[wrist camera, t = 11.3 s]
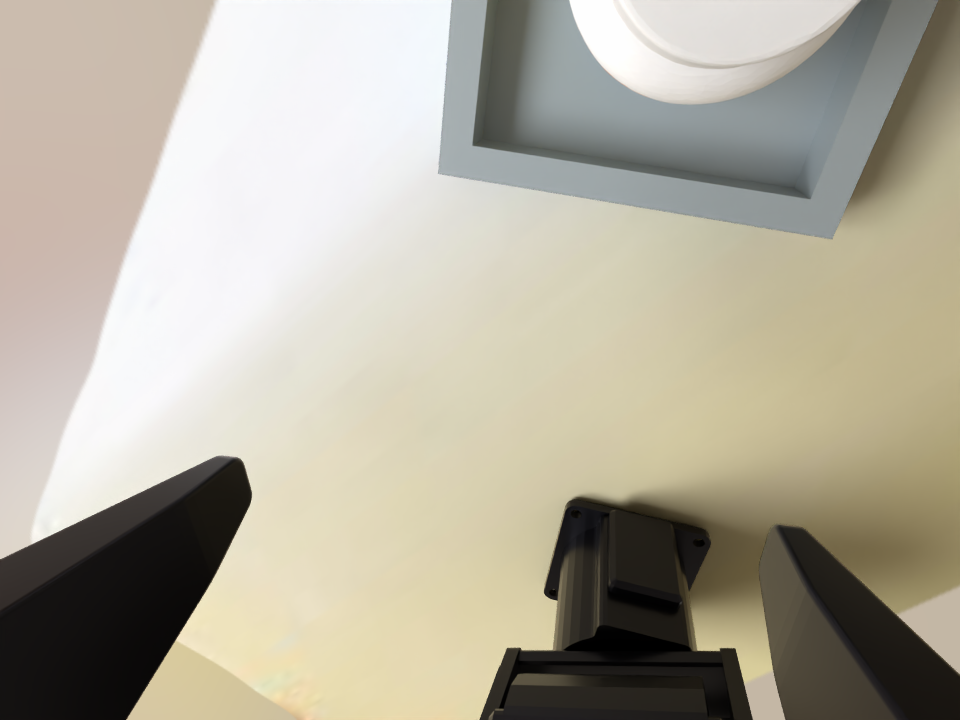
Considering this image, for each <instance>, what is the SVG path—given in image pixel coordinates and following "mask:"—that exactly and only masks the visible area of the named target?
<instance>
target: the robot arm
mask: <svg viewBox="0 0 960 720" xmlns="http://www.w3.org/2000/svg"><path fill="white" fill-rule="evenodd" d="M251 499H252V491H251V487H250V483H249V480H248V476H247V473H246V469H245V466H244V463H243V461H242V460H241V459H240V458H237V457H230V456H216V457H214V458H212V459H210V460H208V461H205V462H203V463H201V464H199V465H197V466H195V467H193V468H191V469H189V470H187V471H184V472H182V473H180V474H178V475H176V476H174V477H172V478H170V479H168V480H166V481H164V482H161V483H159V484H157V485H155V486H153V487H151V488H149V489H147V490H145V491H143V492H141V493H138V494H136V495H134V496H132V497H130V498H128V499H126V500H124V501H122V502H120V503H118V504H115V505H113V506H111V507H109V508H107V509H105V510H103V511H101V512H99V513H97V514H94V515H92V516H90V517H88V518H86V519H84V520H82V521H80V522H78V523H76V524H74V525H71V526H69V527H67V528H65V529H63V530H61V531H59V532H57V533H55V534H53V535H51V536H48V537H46V538H44V539H42V540H40V541H38V542H36V543H34V544H32V545H30V546H28V547H25V548H23V549H21V550H19V551H17V552H15V553H13V554H11V555H9V556H7V557H5V558H2V559H0V720H126V719H127V718H128V716H129V715H130V713H131V711H132V710H133V708H134V706H135V705H136V703H137V702H138V700H139V698H140V697H141V695H142V693H143V692H144V690H145V689H146V687H147V686H148V684H149V682H150V681H151V679H152V678H153V676H154V674H155V673H156V671H157V669H158V668H159V666H160V665H161V663H162V661H163V660H164V658H165V656H166V655H167V653H168V652H169V650H170V648H171V647H172V645H173V644H174V642H175V640H176V639H177V637H178V636H179V634H180V632H181V631H182V629H183V628H184V626H185V624H186V623H187V621H188V619H189V618H190V616H191V615H192V613H193V611H194V610H195V608H196V607H197V605H198V603H199V602H200V600H201V598H202V597H203V595H204V594H205V592H206V590H207V589H208V587H209V585H210V583H211V582H212V580H213V578H214V576H215V574H216V573H217V571H218V569H219V567H220V565H221V563H222V561H223V559H224V557H225V555H226V553H227V551H228V549H229V547H230V545H231V543H232V541H233V539H234V536H235V534H236V532H237V530H238V528H239V526H240V524H241V522H242V520H243V518H244V516H245V514H246V512H247V510H248V508H249V506H250V503H251ZM573 510H578V511H580V512H574V511H573ZM695 539H702V540H695ZM710 545H711V541H710V536H709V533H708V532H707V531H706V530H704V529H702V528H697V527H693V526H689V525H684V524H680V523H676V522H671V521H667V520H663V519H658V518H654V517H650V516H645V515H641V514H637V513H633V512H628V511H624V510H620V509H615V508H611V507H607V506H602V505H598V504H594V503H589V502H585V501H581V500H571V501H569V502H568V503H567V504H566V506H565V510H564V514H563V517H562V521H561V525H560V529H559V533H558V536H557V540H556V544H555V548H554V551H553V555H552V559H551V563H550V567H549V570H548V574H547V578H546V582H545V587H544V594H545V595H546V596H547V597H548V598H550V599H553V600H557V601H558V602H557V612H556V623H555V634H554V644H553V650H521V648H507V650H506V652H505V655H504V658H503V660H502V663H501V666H500V667H499V669H498V671H497V674H496V677H495V679H494V682H493V685H492V687H491V690H490V693H489V696H488V698H487V701H486V704H485V706H484V709H483V712H482V714H481V717H480V720H753V719H752V715H751V710H750V706H749V702H748V698H747V694H746V690H745V686H744V682H743V678H742V674H741V670H740V665H739V661H738V657H737V653H736V649H735V648H720V651H697V644H696V638H695V631H694V624H693V618H692V611H691V604H690V598H689V591H690V588H691V586H692V584H693V582H694V580H695V578H696V575H697V573H698V571H699V569H700V567H701V565H702V563H703V560H704V558H705V556H706V554H707V552H708V550H709V547H710ZM759 578H760V585H761V591H762V598H763V605H764V612H765V619H766V625H767V632H768V639H769V646H770V653H771V659H772V665H773V671H774V676H775V681H776V685H777V689H778V693H779V697H780V700H781V704H782V708H783V712H784V716H785V719H786V720H960V674H959V673H958V672H956V671H955V670H954V669H953V668H952V667H951V666H950V665H949V664H948V663H947V662H946V661H945V660H944V659H943V658H942V657H941V656H940V655H938V654H937V653H936V652H935V651H934V650H933V649H932V648H931V647H930V646H929V645H928V644H927V643H926V642H925V641H923V639H922V638H920V637H919V636H918V635H917V634H916V633H915V632H914V631H913V630H912V629H911V628H910V627H909V626H908V625H907V624H905V622H903V621H902V620H901V619H900V618H899V617H898V616H897V615H896V614H895V613H894V612H893V611H892V610H891V609H890V608H889V607H888V606H886V605H885V604H884V603H883V602H882V601H881V600H880V599H879V598H878V597H877V596H876V595H875V594H874V593H873V592H872V591H871V590H870V589H868V588H867V587H866V586H865V585H864V584H863V583H862V582H861V581H860V580H859V579H858V578H857V577H856V576H855V575H854V574H853V573H851V572H850V571H849V570H848V569H847V568H846V567H845V566H844V565H843V564H842V563H841V562H840V561H839V560H838V559H837V558H836V557H834V556H833V555H832V554H831V553H830V552H829V551H828V550H827V549H826V548H825V547H824V546H823V545H822V544H821V543H820V542H819V541H818V540H816V539H815V538H814V537H813V536H812V535H811V534H810V533H809V532H808V531H807V530H806V529H804V528H802V527H799V526H793V525H785V524H774V525H773V526H772V527H771V528H770V530H769V533H768V536H767V540H766V543H765V546H764V549H763V552H762V556H761V559H760V564H759ZM553 589H554V590H553Z"/></svg>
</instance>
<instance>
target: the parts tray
mask: <svg viewBox="0 0 960 720" xmlns="http://www.w3.org/2000/svg"><path fill="white" fill-rule="evenodd" d="M937 2H938V0H861V1H860V2H859V3H858V4H857V5H856V6H855V7H854V9H853V10H852V11H851V13H850V14H849V16H848V17H847V18H846V20H845V21H844V22H843V23H842V25H841V26H840V27H839V28H838V29H837V30H836V32H835V33H834V34H833V35H832V36H831V37H830V38H829V39H828V40H827V41H826V42H825V43H824V44H823V45H822V46H821V47H820V48H819V49H818V50H817V51H816V52H815V53H814V54H813V55H811V56H810V57H809V58H808V59H806V60H805V61H804V62H803V63H801V64H800V65H799V66H798V67H796V68H795V69H793V70H792V71H791V72H789V73H788V74H786V75H785V76H783V77H782V78H780V79H778V80H776V81H774V82H773V83H771V84H769V85H767V86H765V87H763V88H761V89H759V90H756V91H754V92H752V93H749V94H747V95H744V96H740V97H737V98H734V99H730V100H726V101H722V102H716V103H709V104H694V105H689V104H673V103H667V102H662V101H658V100H655V99H651V98H648V97H646V96H643V95H641V94H639V93H637V92H635V91H633V90H631V89H629V88H628V87H626V86H625V85H623V84H621V83H620V82H618V81H617V80H616V79H615V78H613V77H612V76H611V75H610V74H609V73H608V72H607V71H606V70H605V69H604V68H603V67H602V66H601V65H600V64H599V62H598V61H597V60H596V59H595V57H594V56H593V54H592V53H591V51H590V50H589V48H588V46H587V45H586V43H585V41H584V39H583V37H582V35H581V33H580V31H579V29H578V26H577V24H576V21H575V19H574V16H573V12H572V9H571V5H570V2H569V0H452V4H451V16H450V29H449V42H448V55H447V68H446V81H445V94H444V107H443V120H442V132H441V145H440V158H439V171H438V174H442V175H448V176H454V177H460V178H466V179H472V180H478V181H484V182H490V183H496V184H502V185H508V186H514V187H520V188H526V189H532V190H538V191H544V192H550V193H556V194H562V195H569V196H575V197H581V198H587V199H593V200H599V201H605V202H611V203H617V204H623V205H629V206H635V207H641V208H647V209H653V210H659V211H665V212H671V213H677V214H683V215H689V216H695V217H701V218H707V219H713V220H719V221H725V222H731V223H737V224H743V225H749V226H755V227H761V228H767V229H773V230H779V231H785V232H791V233H797V234H803V235H809V236H815V237H821V238H827V239H832V238H833V236H834V234H835V232H836V229H837V227H838V225H839V223H840V220H841V218H842V216H843V214H844V211H845V209H846V207H847V205H848V202H849V200H850V198H851V196H852V193H853V191H854V189H855V187H856V184H857V182H858V180H859V178H860V175H861V173H862V171H863V169H864V166H865V164H866V162H867V160H868V157H869V155H870V153H871V151H872V148H873V146H874V144H875V142H876V139H877V137H878V135H879V133H880V131H881V128H882V126H883V124H884V122H885V119H886V117H887V115H888V113H889V110H890V108H891V106H892V104H893V101H894V99H895V97H896V95H897V92H898V90H899V88H900V86H901V83H902V81H903V79H904V77H905V74H906V72H907V70H908V68H909V65H910V63H911V61H912V59H913V56H914V54H915V52H916V50H917V47H918V45H919V43H920V41H921V38H922V36H923V34H924V32H925V29H926V27H927V25H928V23H929V20H930V18H931V16H932V14H933V11H934V9H935V7H936V5H937Z"/></svg>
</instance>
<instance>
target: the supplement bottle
mask: <svg viewBox="0 0 960 720" xmlns="http://www.w3.org/2000/svg"><path fill="white" fill-rule="evenodd" d="M860 1H861V0H569V2H570V5H571V9H572V12H573V16H574V19H575V21H576V24H577V26H578V29H579V31H580V33H581V35H582V37H583V39H584V41H585V43H586V45H587V46H588V48H589V50H590V51H591V53H592V54H593V56H594V57H595V59H596V60H597V61H598V62H599V64H600V65H601V66H602V67H603V68H604V69H605V70H606V71H607V72H608V73H609V74H610V75H611V76H612V77H613V78H615V79H616V80H617V81H618V82H620V83H621V84H623V85H625V86H626V87H628V88H629V89H631V90H633V91H635V92H637V93H639V94H641V95H643V96H646V97H648V98H651V99H655V100H658V101H662V102H667V103H673V104H689V105H694V104H709V103H716V102H722V101H726V100H730V99H734V98H737V97H740V96H744V95H747V94H749V93H752V92H754V91H756V90H759V89H761V88H763V87H765V86H767V85H769V84H771V83H773V82H774V81H776V80H778V79H780V78H782V77H783V76H785V75H786V74H788V73H789V72H791V71H792V70H793V69H795V68H796V67H798V66H799V65H800V64H801V63H803V62H804V61H805V60H806V59H808V58H809V57H810V56H811V55H813V54H814V53H815V52H816V51H817V50H818V49H819V48H820V47H821V46H822V45H823V44H824V43H825V42H826V41H827V40H828V39H829V38H830V37H831V36H832V35H833V34H834V33H835V32H836V30H837V29H838V28H839V27H840V26H841V25H842V23H843V22H844V21H845V20H846V18H847V17H848V16H849V14H850V13H851V11H852V10H853V9H854V7H855V6H856V5H857V4H858V3H859V2H860Z"/></svg>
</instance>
